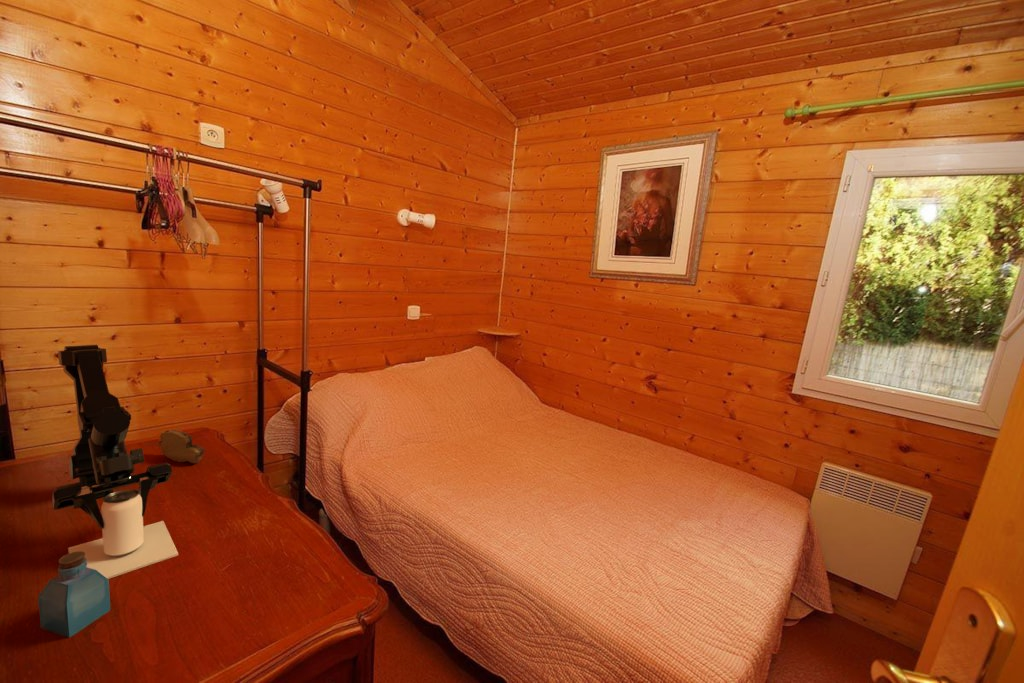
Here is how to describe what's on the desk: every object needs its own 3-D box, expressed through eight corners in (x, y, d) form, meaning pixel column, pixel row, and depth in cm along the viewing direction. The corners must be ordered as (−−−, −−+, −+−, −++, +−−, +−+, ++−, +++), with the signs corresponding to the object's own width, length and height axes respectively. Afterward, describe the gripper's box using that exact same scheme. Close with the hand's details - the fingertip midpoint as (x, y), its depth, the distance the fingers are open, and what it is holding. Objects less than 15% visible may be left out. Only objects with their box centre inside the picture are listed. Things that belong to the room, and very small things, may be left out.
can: (141, 552, 92) (138, 500, 90) (99, 560, 88) (96, 506, 87) (146, 535, 97) (144, 485, 95) (108, 542, 94) (104, 491, 92)
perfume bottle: (69, 637, 72) (64, 573, 70) (41, 628, 73) (35, 564, 71) (110, 610, 78) (106, 550, 76) (83, 602, 79) (79, 543, 77)
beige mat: (68, 549, 92) (68, 547, 92) (163, 522, 104) (163, 520, 104) (73, 590, 82) (73, 588, 82) (178, 555, 93) (178, 553, 93)
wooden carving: (210, 461, 135) (209, 431, 134) (197, 468, 131) (196, 436, 129) (165, 453, 138) (164, 423, 136) (151, 459, 133) (150, 428, 132)
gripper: (49, 450, 84) (61, 527, 79) (168, 429, 99) (184, 492, 94) (47, 473, 90) (58, 545, 85) (160, 450, 105) (175, 510, 100)
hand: (123, 522), depth 91 cm, fingers closed on can, 6 cm apart
